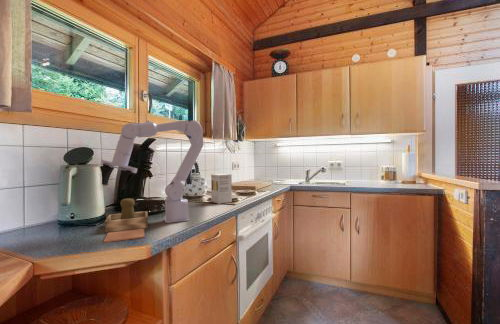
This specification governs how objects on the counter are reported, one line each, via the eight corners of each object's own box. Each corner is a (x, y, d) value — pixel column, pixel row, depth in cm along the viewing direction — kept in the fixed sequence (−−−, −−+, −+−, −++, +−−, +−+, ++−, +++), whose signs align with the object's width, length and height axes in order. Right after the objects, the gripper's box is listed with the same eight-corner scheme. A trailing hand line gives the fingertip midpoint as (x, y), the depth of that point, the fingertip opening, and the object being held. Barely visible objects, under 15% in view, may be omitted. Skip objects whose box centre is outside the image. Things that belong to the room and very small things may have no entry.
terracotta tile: (144, 229, 95) (144, 228, 95) (144, 237, 85) (144, 236, 85) (108, 234, 90) (108, 232, 90) (103, 242, 81) (103, 241, 81)
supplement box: (211, 201, 153) (210, 174, 153) (224, 200, 158) (223, 173, 158) (218, 204, 145) (218, 174, 145) (232, 202, 151) (231, 174, 150)
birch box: (147, 220, 109) (147, 211, 109) (147, 227, 98) (147, 217, 98) (109, 224, 104) (109, 214, 104) (105, 232, 92) (104, 221, 92)
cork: (129, 228, 97) (129, 200, 97) (116, 227, 98) (115, 199, 98) (139, 224, 103) (138, 197, 103) (126, 223, 104) (125, 197, 104)
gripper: (99, 147, 97) (89, 181, 95) (133, 156, 95) (123, 191, 94) (111, 150, 104) (101, 182, 102) (143, 158, 102) (134, 191, 101)
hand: (112, 186), depth 99 cm, fingers open, 7 cm apart
